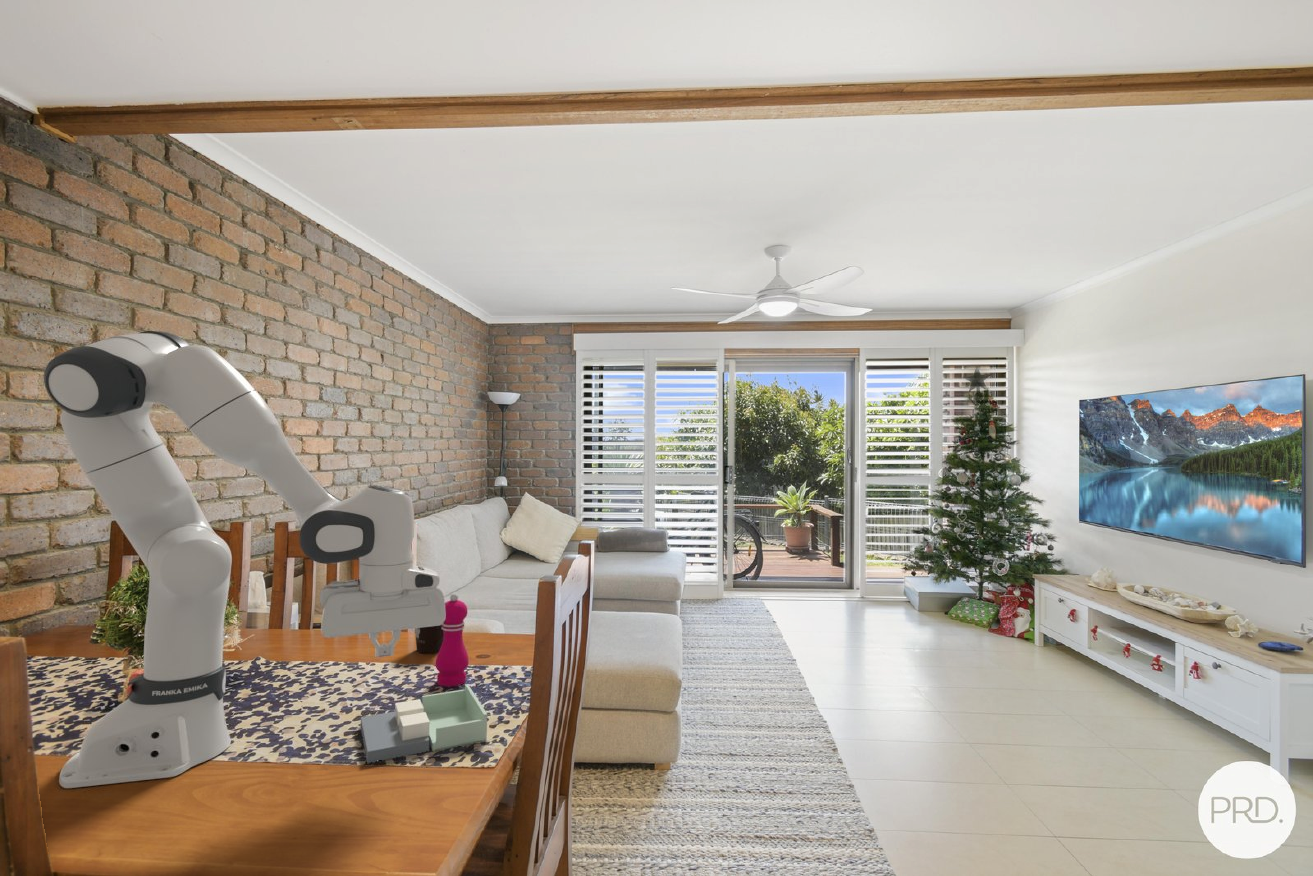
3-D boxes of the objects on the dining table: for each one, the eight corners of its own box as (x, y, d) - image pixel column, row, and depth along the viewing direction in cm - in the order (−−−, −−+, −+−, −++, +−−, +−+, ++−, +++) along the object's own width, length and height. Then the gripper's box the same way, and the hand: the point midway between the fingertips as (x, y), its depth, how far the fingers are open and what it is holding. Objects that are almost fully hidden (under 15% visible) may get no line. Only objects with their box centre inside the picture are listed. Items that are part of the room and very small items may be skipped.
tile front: (402, 740, 113) (402, 726, 113) (399, 730, 117) (399, 716, 117) (429, 735, 116) (429, 721, 116) (425, 725, 119) (425, 712, 119)
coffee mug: (413, 645, 170) (414, 608, 170) (447, 643, 173) (448, 606, 173) (410, 660, 159) (411, 620, 159) (446, 658, 162) (448, 618, 162)
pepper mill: (458, 689, 142) (460, 598, 142) (428, 686, 143) (431, 596, 144) (473, 677, 149) (476, 591, 149) (445, 674, 151) (448, 589, 151)
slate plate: (367, 763, 109) (367, 751, 109) (360, 727, 122) (360, 717, 122) (429, 751, 114) (429, 740, 114) (416, 718, 127) (416, 708, 127)
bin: (432, 752, 114) (433, 723, 114) (418, 716, 128) (419, 691, 128) (486, 741, 118) (487, 714, 118) (467, 708, 132) (467, 684, 132)
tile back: (397, 725, 119) (398, 712, 119) (394, 716, 123) (395, 703, 123) (423, 721, 121) (423, 708, 121) (419, 712, 125) (420, 699, 125)
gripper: (320, 586, 106) (318, 670, 106) (448, 576, 116) (446, 653, 116) (319, 578, 112) (317, 658, 112) (442, 569, 121) (440, 643, 121)
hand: (384, 655), depth 114 cm, fingers closed
